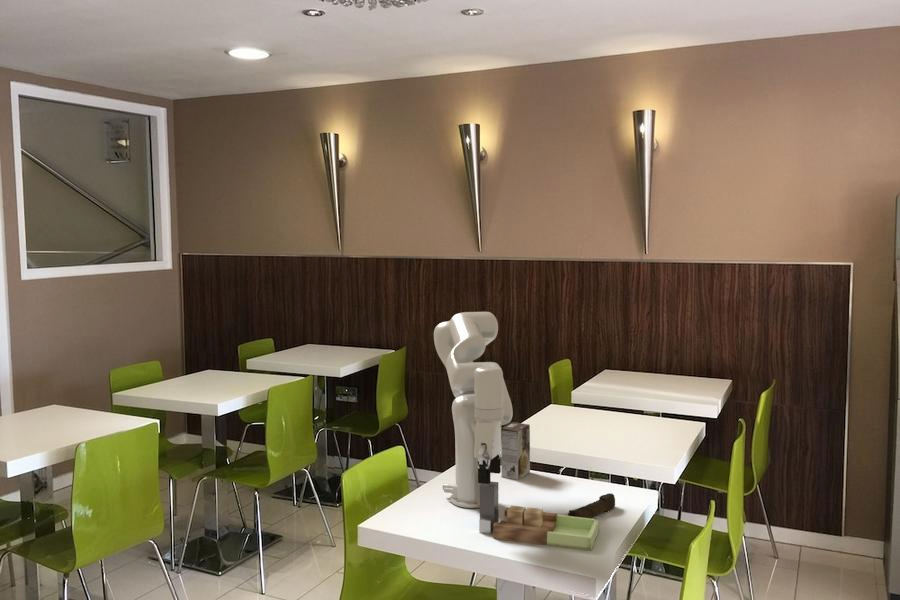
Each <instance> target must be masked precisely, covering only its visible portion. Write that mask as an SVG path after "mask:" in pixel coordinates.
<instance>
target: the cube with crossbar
mask: <svg viewBox="0 0 900 600" xmlns="http://www.w3.org/2000/svg"><path fill="white" fill-rule="evenodd" d="M499 511H500V510H499V481H492V480H490V484H482V483H481V484H480V508H479V520H478V521H479V522H478V523H479V525H478V526H479V527H478V528H479V529H478V531H479V533H480V534H488V535H491V534H493V525H494V523H495V522H498V523H499V522H500V519H499V515H500V512H499ZM479 533H478V534H479Z"/></svg>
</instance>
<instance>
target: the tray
mask: <svg viewBox="0 0 900 600" xmlns="http://www.w3.org/2000/svg"><path fill="white" fill-rule="evenodd" d="M599 532H600V519H597V518H592V517H590V518H582V517H573V516H568V515H565V514H563V515H562V514H557V526H556V527H555V529H554V531H553V532H550V531H548V532H547V545H546V546H552V547H559V548H560V547H561V548H565V549H566V548H567V549H569V548H570V549H574V550H582V551H583V550H584V551H592V549H593V546H594V544H595V542H596V540H595V539H597V537H598V535H599ZM597 534H598V535H597Z"/></svg>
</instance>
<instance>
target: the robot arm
mask: <svg viewBox="0 0 900 600" xmlns="http://www.w3.org/2000/svg"><path fill="white" fill-rule="evenodd" d="M498 331H499V323H498V319H497V317H496V316H495V315H494V314H493V313H492V312H491V311H464V312H459V313H456V314H454V315H453V316H452V317H451V319H450V320H448V321H442V322H440V323H439V324H437V325H436V326H435V328H434V330H433V341H434V347H435V350H436V352H437V355H438V358H439V359H440V360H441V362H442V364H443V366H444V367H445V369H446V372H447V377H448V382H449V385H450V389H451V391H452V395H453V396H454V397H455V398H454V399H453V401H452V405H451V413H452V420H453V426H454V439H455V441H454V442H455V446H454V447H455V483H453V484H450V483H443V484H442V490H443V492H444V493H447V494H448V493H450V494H451V495H450V503H451V504H453V505H455V506H457V507H460V508H467V509H478V508H479V509H480V484H481V483H482V484H490V481H491V474H498V475H499V474H501V473H502V471H501V428H502V426H505V425H506V426H507V425H509V424H510V423H511V421H512V419H513V413H514V412H513V405H512V400H511V397H510V394H509V392H508V389H507V388H508V387H507V385H506V381H505V379H504V372H503V370H502V367H501V366H500V365H499V364H498V363H497V362H494V361H484V362H483V361H482V362H480V361H479V362H477V361H476V362H474V361H475V360H477V359H479V358H480V357H481V356H482V355H483V354H484V353H485V351H486V346H488V345H489V344H490V343H491V342H493V341H494V340H495V339H496V338H497V335H498V334H499V333H498Z"/></svg>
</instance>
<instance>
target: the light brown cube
mask: <svg viewBox="0 0 900 600" xmlns="http://www.w3.org/2000/svg"><path fill="white" fill-rule="evenodd" d="M508 508H509V509H508V510H507V524H515V525H524V512H525V510H526V509H527V507H526V506H519V505H510V506H509V507H508Z"/></svg>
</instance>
